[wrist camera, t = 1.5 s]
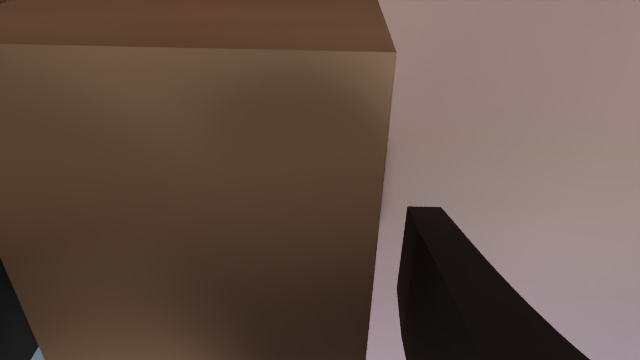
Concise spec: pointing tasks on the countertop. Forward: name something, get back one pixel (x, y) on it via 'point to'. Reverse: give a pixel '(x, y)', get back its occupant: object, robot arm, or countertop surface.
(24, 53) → the walnut brick
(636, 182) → the countertop surface
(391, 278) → the countertop surface
